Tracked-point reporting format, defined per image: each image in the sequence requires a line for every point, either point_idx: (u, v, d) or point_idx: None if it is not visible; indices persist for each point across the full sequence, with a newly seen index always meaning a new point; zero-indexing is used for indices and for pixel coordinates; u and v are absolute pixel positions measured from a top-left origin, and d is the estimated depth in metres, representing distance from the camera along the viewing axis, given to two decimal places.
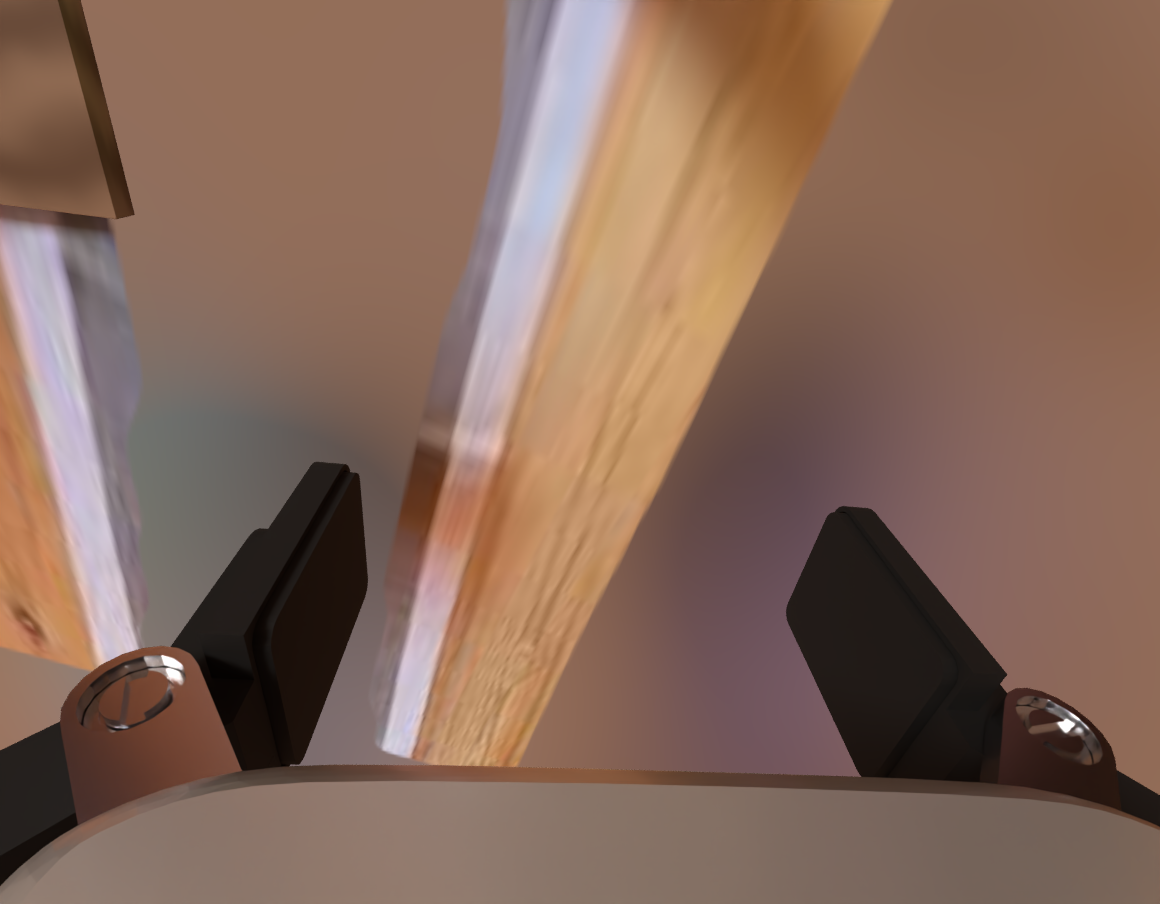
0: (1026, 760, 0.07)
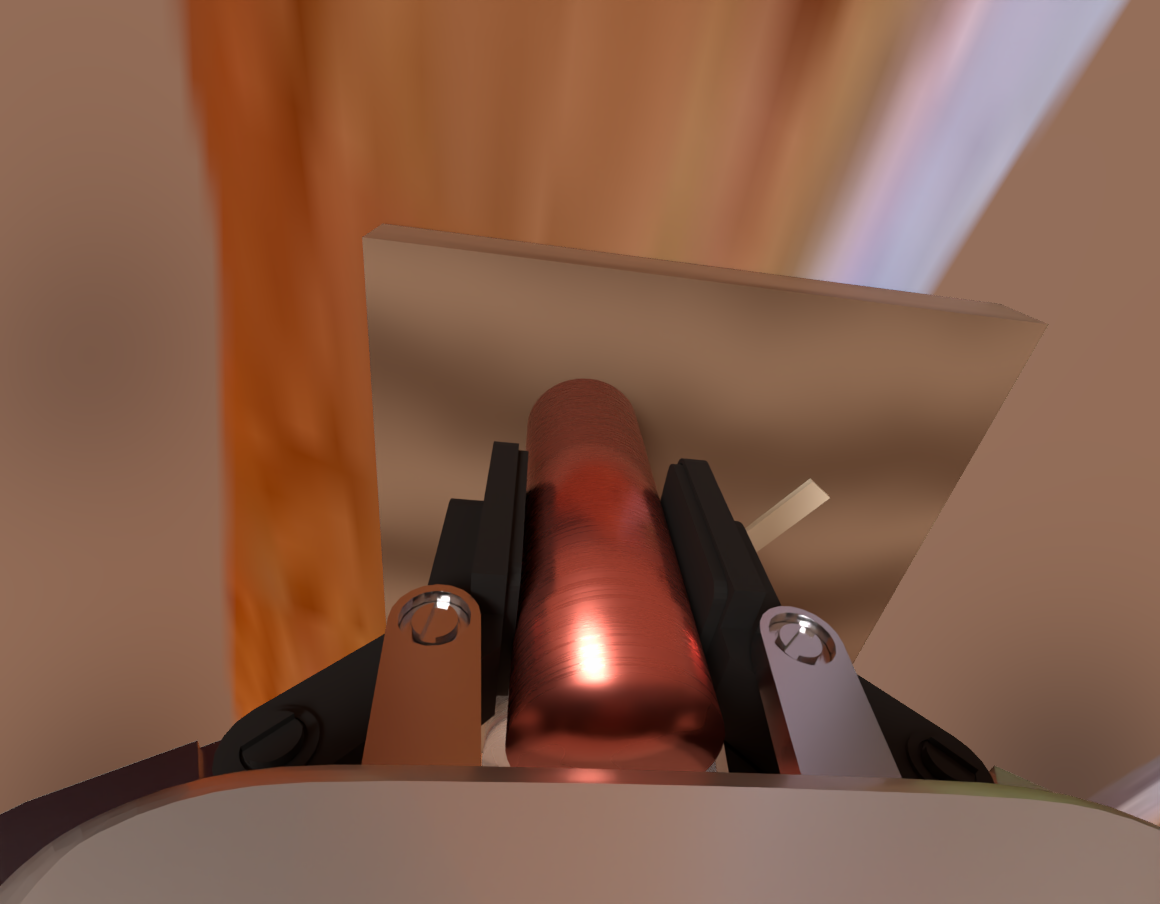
0: (795, 686, 0.07)
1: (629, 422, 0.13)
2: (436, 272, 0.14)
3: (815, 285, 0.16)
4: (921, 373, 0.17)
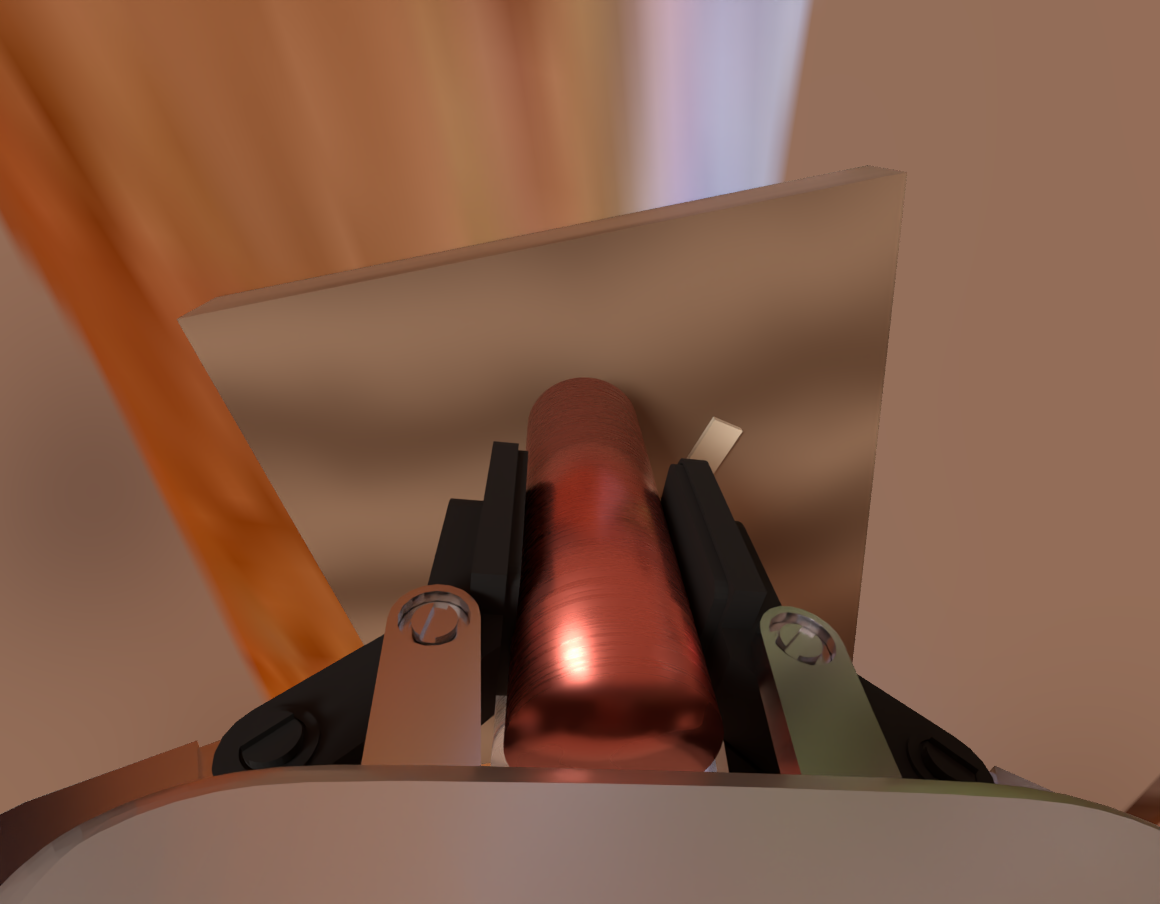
0: (795, 686, 0.07)
1: (628, 420, 0.13)
2: (253, 329, 0.15)
3: (636, 217, 0.15)
4: (782, 272, 0.15)
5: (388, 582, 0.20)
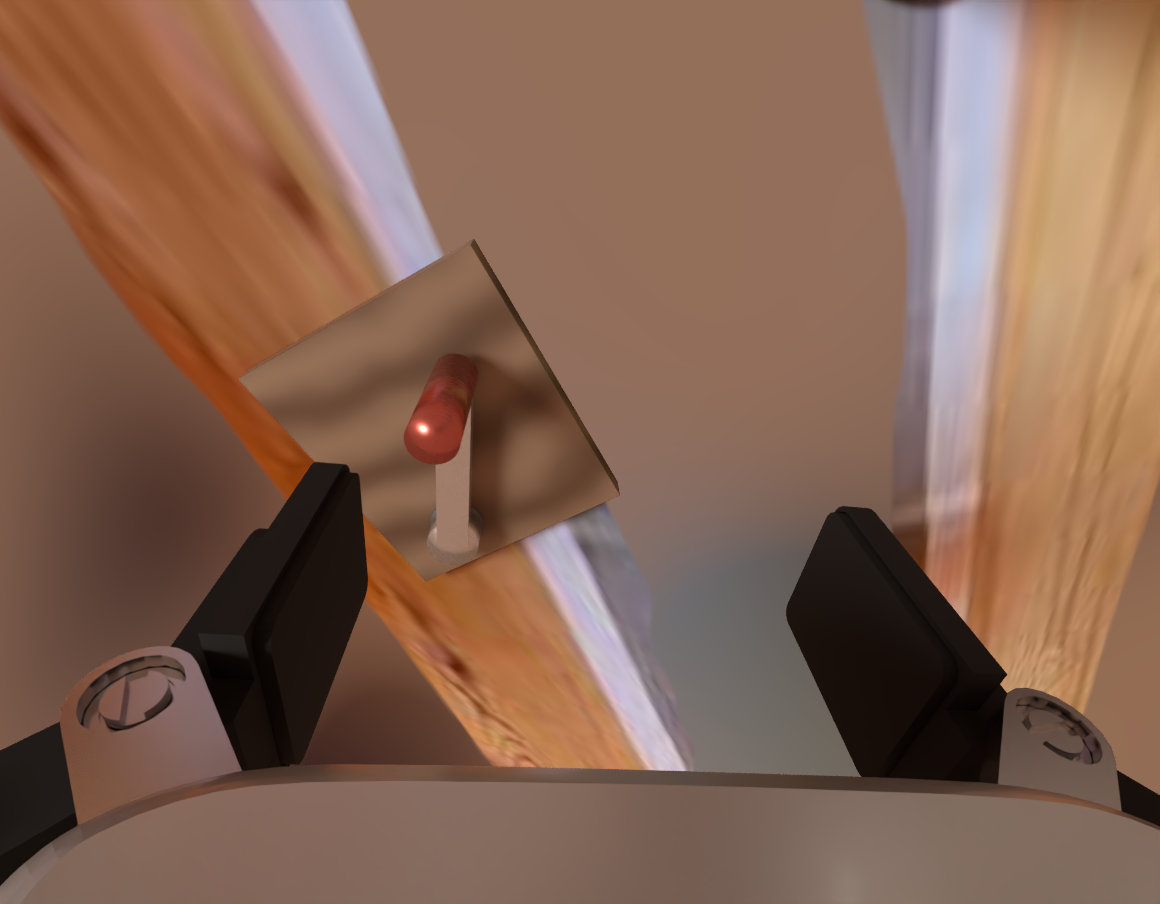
0: (1026, 760, 0.07)
1: (466, 368, 0.36)
2: (265, 374, 0.39)
3: (389, 289, 0.37)
4: (446, 294, 0.36)
5: None
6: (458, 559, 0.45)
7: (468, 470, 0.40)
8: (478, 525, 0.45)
